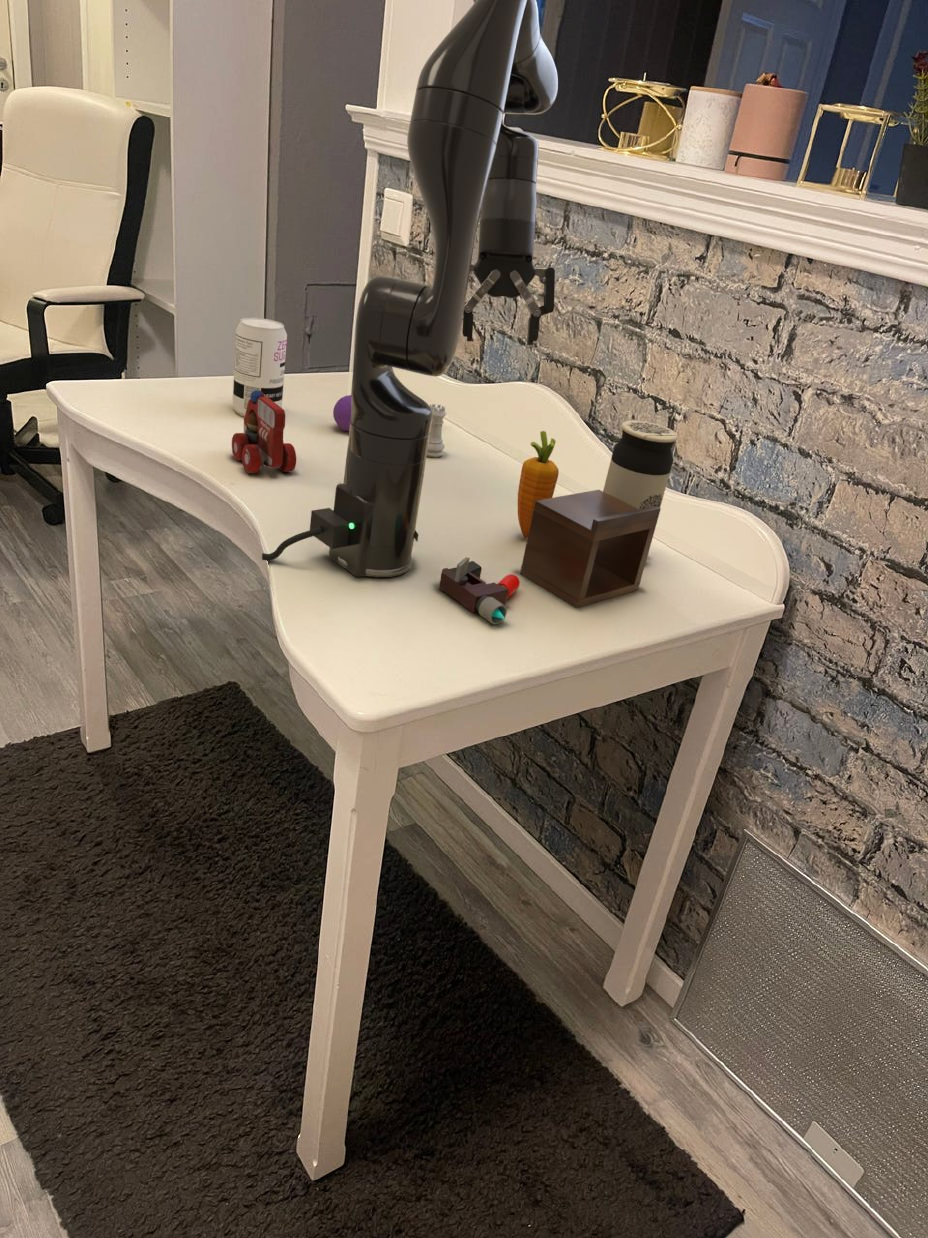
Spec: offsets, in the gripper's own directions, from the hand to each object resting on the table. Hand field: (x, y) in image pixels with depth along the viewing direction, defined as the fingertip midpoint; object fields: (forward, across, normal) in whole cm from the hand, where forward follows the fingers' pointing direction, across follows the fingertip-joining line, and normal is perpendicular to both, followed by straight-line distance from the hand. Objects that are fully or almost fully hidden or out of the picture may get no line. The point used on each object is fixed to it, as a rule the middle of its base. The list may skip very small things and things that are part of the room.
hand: (499, 343), depth 132 cm
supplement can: (+14, -39, +26) cm, 49 cm away
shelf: (+29, +11, -21) cm, 37 cm away
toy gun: (+29, -1, -30) cm, 42 cm away
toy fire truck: (+19, -34, +2) cm, 39 cm away
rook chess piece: (+18, -9, +20) cm, 28 cm away
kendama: (+16, -18, +29) cm, 37 cm away
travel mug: (+27, +18, -10) cm, 34 cm away
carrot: (+26, +5, -10) cm, 28 cm away
